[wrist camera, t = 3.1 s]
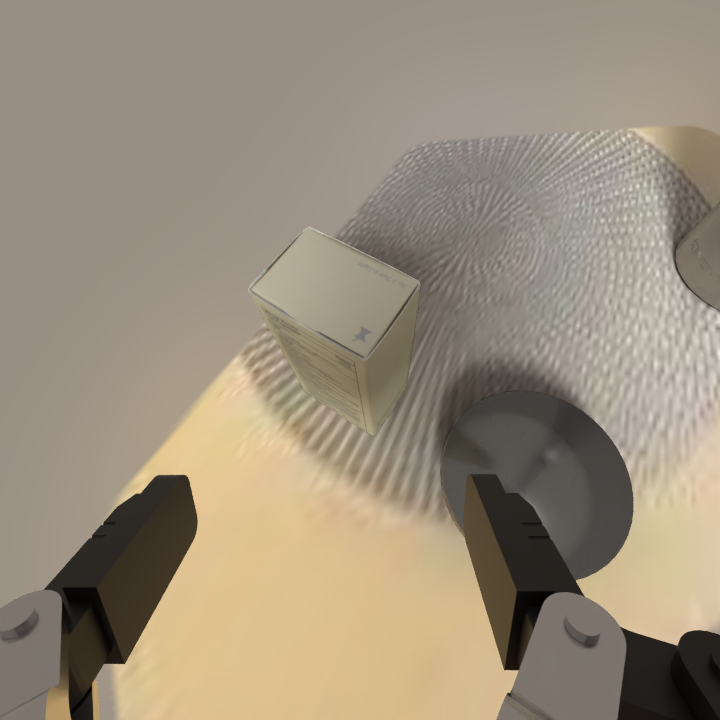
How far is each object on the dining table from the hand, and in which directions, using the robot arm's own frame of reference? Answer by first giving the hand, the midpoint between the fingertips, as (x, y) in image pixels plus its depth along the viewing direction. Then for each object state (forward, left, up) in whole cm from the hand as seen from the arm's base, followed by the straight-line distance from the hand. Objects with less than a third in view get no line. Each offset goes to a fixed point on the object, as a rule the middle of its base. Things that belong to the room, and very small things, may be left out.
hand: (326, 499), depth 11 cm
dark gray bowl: (-10, 0, -13) cm, 17 cm away
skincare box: (-1, -8, -13) cm, 16 cm away
